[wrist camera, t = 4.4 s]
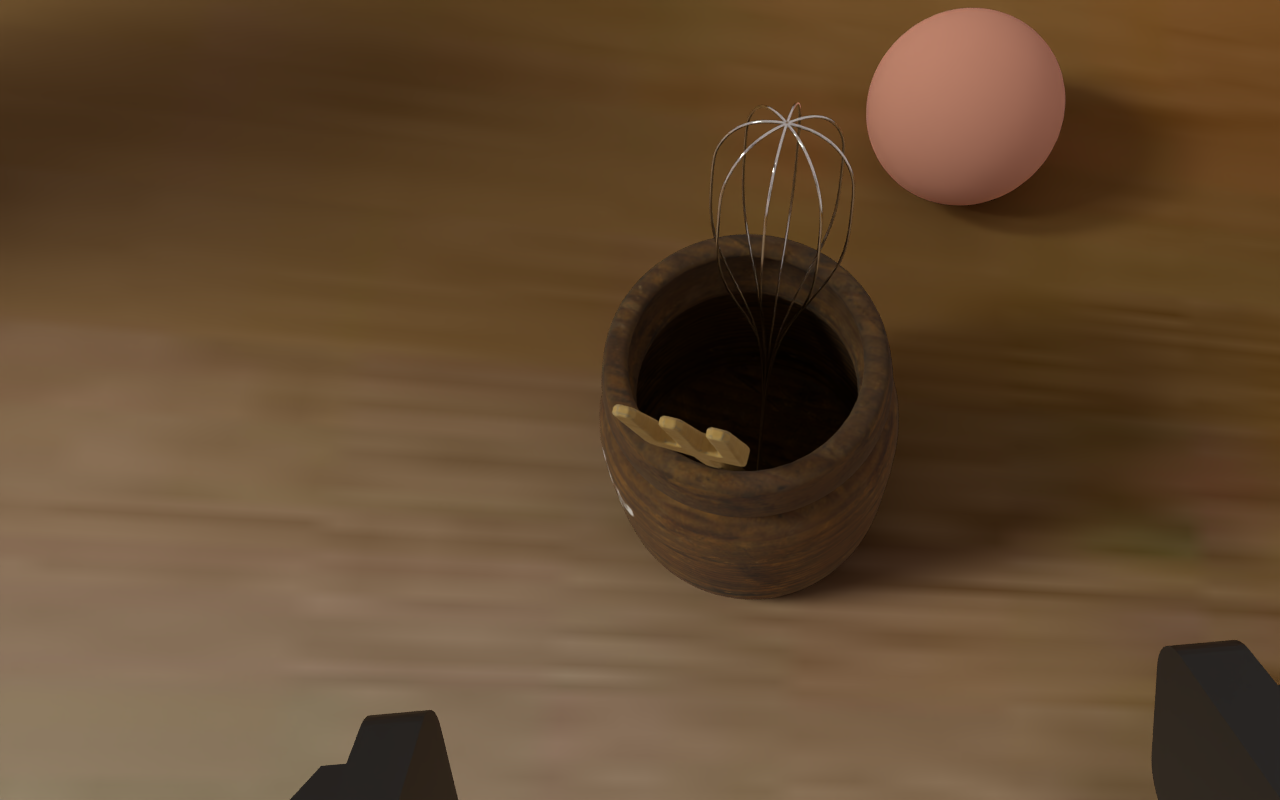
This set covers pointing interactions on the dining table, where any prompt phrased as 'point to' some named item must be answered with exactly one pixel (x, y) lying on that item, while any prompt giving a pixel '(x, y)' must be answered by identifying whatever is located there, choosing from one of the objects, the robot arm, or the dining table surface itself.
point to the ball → (965, 106)
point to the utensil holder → (750, 404)
